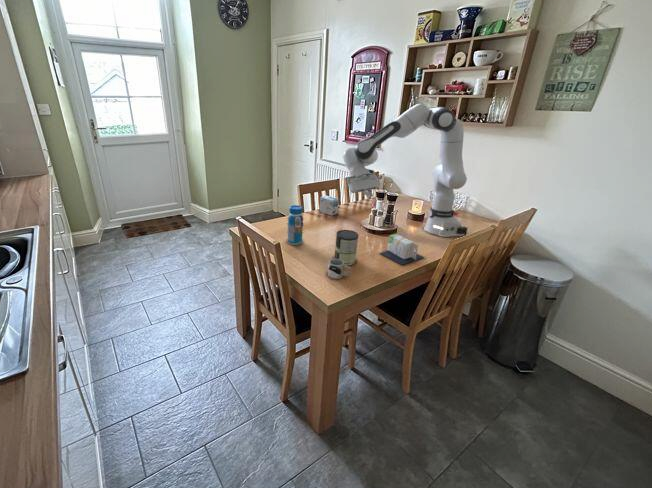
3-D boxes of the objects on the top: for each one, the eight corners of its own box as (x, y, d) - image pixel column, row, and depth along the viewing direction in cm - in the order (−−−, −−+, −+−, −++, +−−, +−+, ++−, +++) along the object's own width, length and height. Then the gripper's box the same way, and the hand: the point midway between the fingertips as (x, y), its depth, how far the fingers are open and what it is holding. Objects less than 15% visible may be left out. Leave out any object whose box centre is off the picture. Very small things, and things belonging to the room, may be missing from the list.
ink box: (388, 235, 167) (411, 246, 155) (395, 233, 169) (419, 244, 157) (386, 250, 170) (408, 262, 158) (393, 248, 172) (416, 260, 161)
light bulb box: (337, 213, 221) (339, 198, 216) (331, 216, 216) (333, 200, 212) (325, 209, 227) (326, 194, 223) (319, 212, 223) (320, 196, 219)
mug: (326, 277, 145) (327, 264, 142) (329, 270, 150) (331, 257, 148) (348, 281, 141) (350, 268, 139) (351, 274, 147) (353, 261, 144)
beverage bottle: (284, 243, 175) (285, 208, 167) (290, 237, 183) (291, 203, 174) (299, 246, 173) (301, 210, 165) (304, 240, 180) (306, 205, 172)
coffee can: (329, 259, 160) (332, 233, 154) (342, 253, 166) (345, 227, 161) (347, 267, 153) (350, 240, 147) (359, 260, 160) (362, 234, 154)
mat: (380, 253, 167) (380, 253, 167) (401, 247, 175) (401, 246, 175) (402, 265, 156) (402, 264, 156) (423, 257, 164) (423, 257, 164)
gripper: (348, 174, 173) (359, 196, 169) (376, 170, 183) (387, 191, 179) (342, 180, 178) (352, 202, 174) (369, 176, 188) (379, 197, 185)
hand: (370, 196), depth 177 cm, fingers closed
